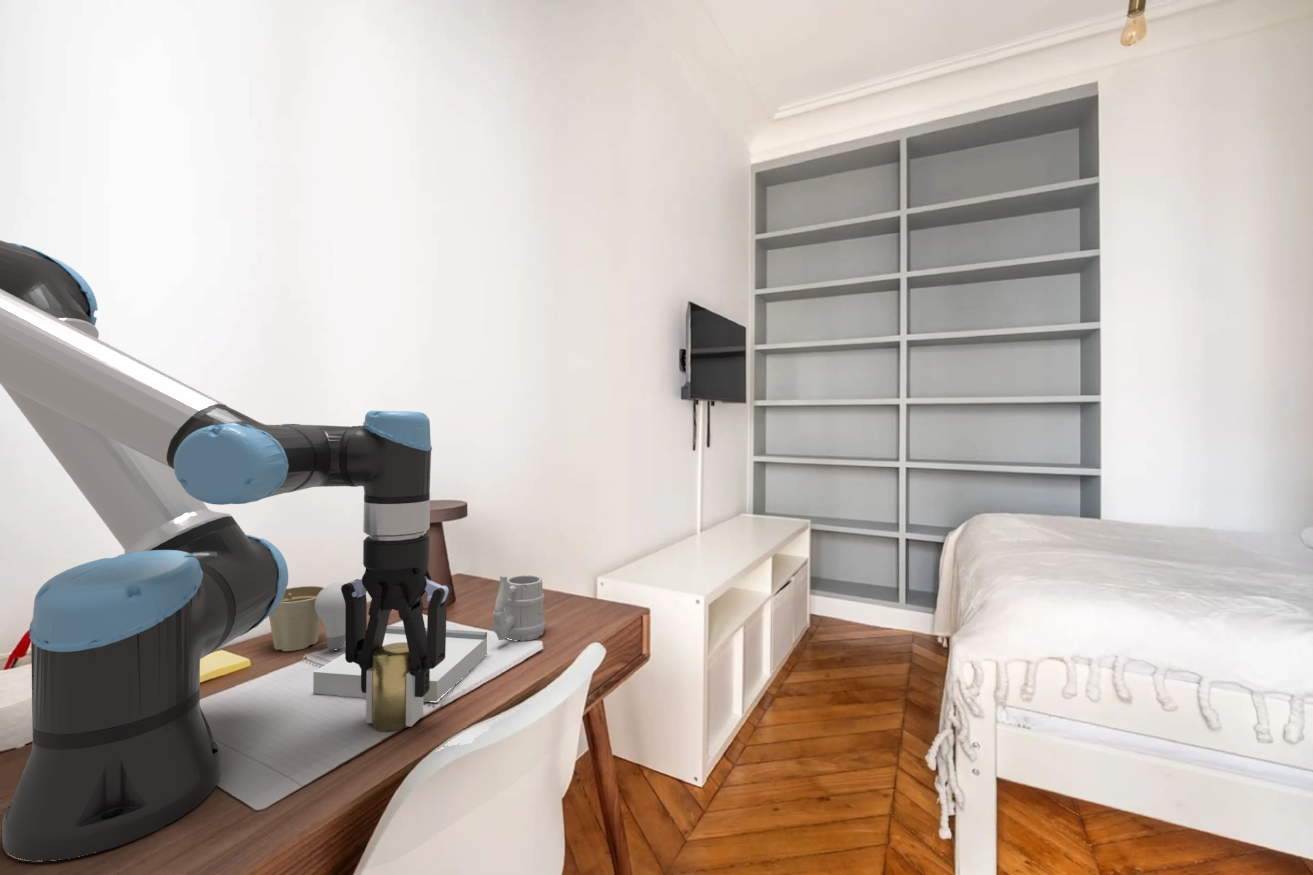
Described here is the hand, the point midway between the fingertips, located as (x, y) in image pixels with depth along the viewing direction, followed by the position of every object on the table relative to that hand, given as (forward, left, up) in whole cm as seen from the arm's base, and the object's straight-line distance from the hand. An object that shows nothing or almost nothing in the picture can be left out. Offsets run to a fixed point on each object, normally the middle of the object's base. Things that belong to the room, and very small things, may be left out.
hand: (394, 718), depth 70 cm
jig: (+13, +6, 0) cm, 14 cm away
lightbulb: (+19, +22, -1) cm, 29 cm away
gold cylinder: (0, 0, 0) cm, 0 cm away
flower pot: (+20, +30, -1) cm, 36 cm away
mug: (+29, -5, -1) cm, 29 cm away
